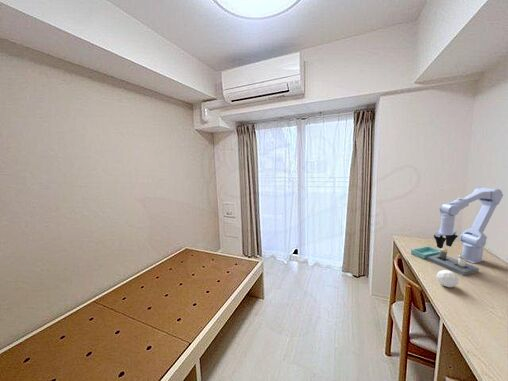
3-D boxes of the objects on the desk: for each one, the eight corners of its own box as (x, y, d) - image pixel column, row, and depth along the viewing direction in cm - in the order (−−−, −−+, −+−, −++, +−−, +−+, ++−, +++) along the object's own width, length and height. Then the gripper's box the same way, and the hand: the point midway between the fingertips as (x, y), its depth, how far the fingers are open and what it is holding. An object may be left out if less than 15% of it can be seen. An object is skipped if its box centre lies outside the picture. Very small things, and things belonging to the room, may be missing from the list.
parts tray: (427, 250, 141) (428, 246, 141) (441, 255, 134) (441, 251, 133) (411, 253, 137) (411, 249, 136) (424, 259, 129) (424, 254, 129)
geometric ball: (445, 292, 103) (439, 282, 100) (436, 278, 109) (431, 268, 107) (464, 288, 99) (459, 278, 97) (454, 274, 106) (449, 264, 104)
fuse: (459, 267, 120) (461, 254, 118) (465, 270, 117) (467, 256, 115) (455, 268, 119) (457, 255, 117) (462, 271, 116) (464, 257, 115)
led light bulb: (441, 260, 128) (442, 247, 127) (446, 262, 125) (448, 249, 124) (437, 261, 127) (439, 248, 126) (443, 263, 124) (445, 250, 123)
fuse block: (440, 256, 132) (441, 253, 132) (478, 271, 115) (478, 268, 115) (426, 259, 129) (427, 256, 128) (463, 275, 112) (463, 272, 111)
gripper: (447, 221, 128) (444, 242, 131) (430, 224, 124) (428, 245, 126) (461, 224, 122) (458, 247, 124) (444, 227, 118) (441, 250, 120)
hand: (444, 246), depth 125 cm, fingers open, 7 cm apart
